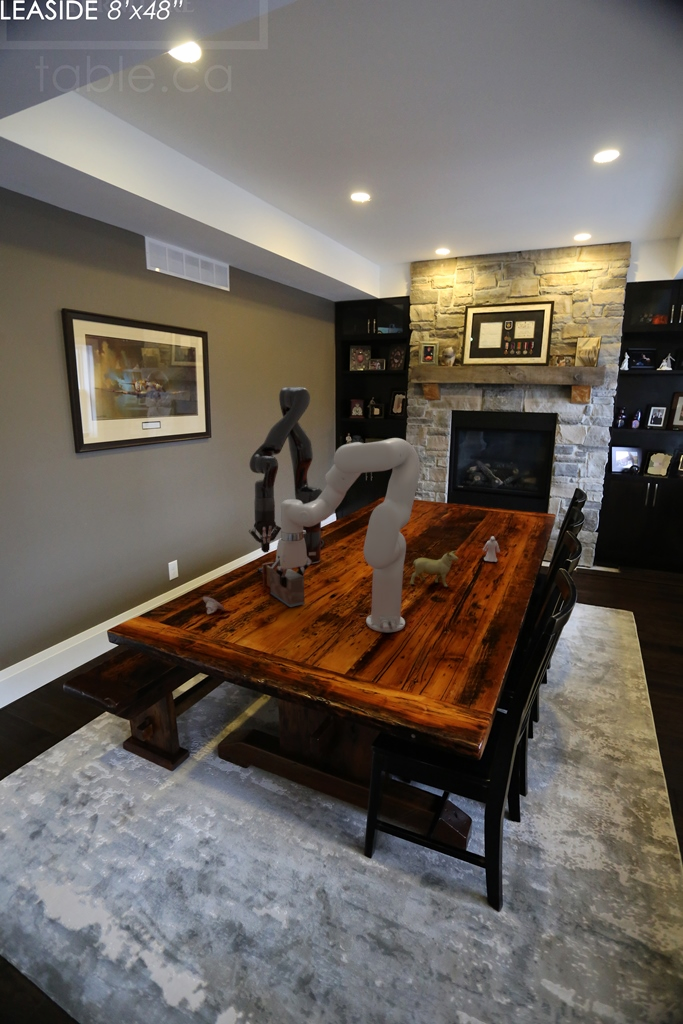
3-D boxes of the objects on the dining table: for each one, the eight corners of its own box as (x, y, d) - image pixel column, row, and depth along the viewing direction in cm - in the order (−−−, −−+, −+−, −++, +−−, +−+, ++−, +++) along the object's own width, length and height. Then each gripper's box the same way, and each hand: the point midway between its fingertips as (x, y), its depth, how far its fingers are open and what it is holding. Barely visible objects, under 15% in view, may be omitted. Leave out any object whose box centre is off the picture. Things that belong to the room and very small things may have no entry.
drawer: (257, 580, 196) (256, 560, 194) (267, 578, 198) (267, 558, 197) (279, 596, 180) (278, 574, 178) (290, 593, 182) (290, 572, 181)
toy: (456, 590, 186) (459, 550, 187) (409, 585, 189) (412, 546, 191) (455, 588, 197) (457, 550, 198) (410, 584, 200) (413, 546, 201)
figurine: (481, 562, 222) (483, 536, 219) (482, 556, 230) (484, 531, 227) (499, 564, 220) (501, 538, 217) (499, 558, 228) (501, 533, 225)
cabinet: (270, 593, 185) (269, 567, 183) (284, 590, 188) (283, 564, 186) (290, 607, 172) (289, 579, 170) (304, 603, 175) (304, 576, 173)
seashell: (209, 622, 169) (193, 604, 168) (220, 611, 173) (205, 594, 172) (217, 618, 163) (201, 599, 162) (228, 607, 167) (213, 589, 166)
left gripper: (276, 504, 194) (276, 546, 198) (244, 507, 187) (245, 552, 191) (285, 508, 188) (285, 551, 192) (252, 512, 181) (253, 557, 185)
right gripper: (308, 529, 179) (307, 576, 183) (264, 536, 169) (264, 585, 174) (319, 535, 173) (318, 583, 177) (273, 542, 163) (274, 593, 168)
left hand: (265, 551), depth 191 cm, fingers closed
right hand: (291, 584), depth 175 cm, fingers closed on cabinet, 5 cm apart
